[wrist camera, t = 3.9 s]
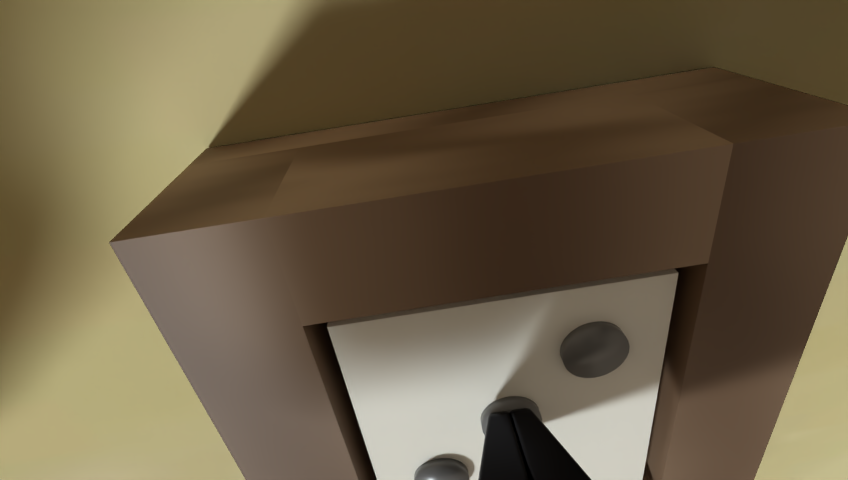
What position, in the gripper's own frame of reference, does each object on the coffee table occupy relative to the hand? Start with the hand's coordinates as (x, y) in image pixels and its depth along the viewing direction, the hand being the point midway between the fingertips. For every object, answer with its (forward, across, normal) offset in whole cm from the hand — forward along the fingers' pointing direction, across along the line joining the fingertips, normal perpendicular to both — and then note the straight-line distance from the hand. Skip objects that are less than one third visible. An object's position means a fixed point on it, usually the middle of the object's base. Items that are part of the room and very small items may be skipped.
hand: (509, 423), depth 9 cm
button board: (+4, 0, +9) cm, 10 cm away
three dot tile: (+3, 0, 0) cm, 3 cm away
